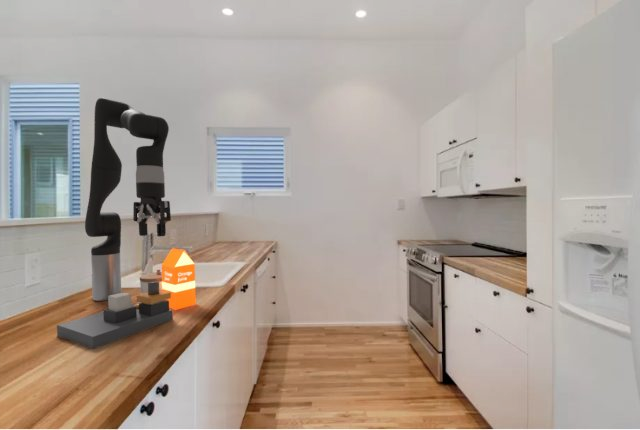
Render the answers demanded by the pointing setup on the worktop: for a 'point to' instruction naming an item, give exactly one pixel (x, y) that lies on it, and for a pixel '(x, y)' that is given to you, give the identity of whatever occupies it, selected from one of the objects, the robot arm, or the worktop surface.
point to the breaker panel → (114, 324)
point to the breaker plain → (119, 302)
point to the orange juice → (179, 279)
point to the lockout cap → (153, 294)
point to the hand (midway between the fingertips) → (152, 235)
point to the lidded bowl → (150, 280)
